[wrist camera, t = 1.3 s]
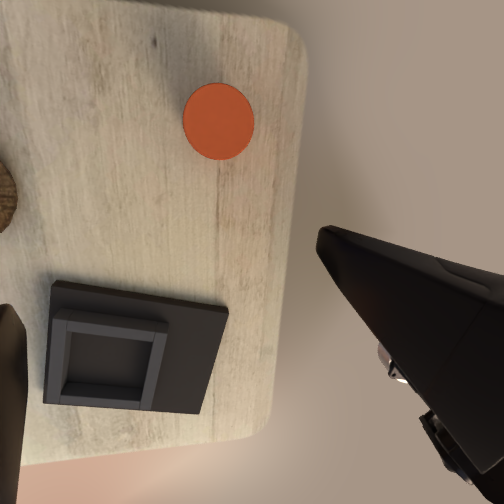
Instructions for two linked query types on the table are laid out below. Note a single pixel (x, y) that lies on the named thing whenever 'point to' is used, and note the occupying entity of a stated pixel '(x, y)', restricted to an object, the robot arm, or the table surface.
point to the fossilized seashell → (7, 197)
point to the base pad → (129, 349)
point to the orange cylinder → (218, 121)
